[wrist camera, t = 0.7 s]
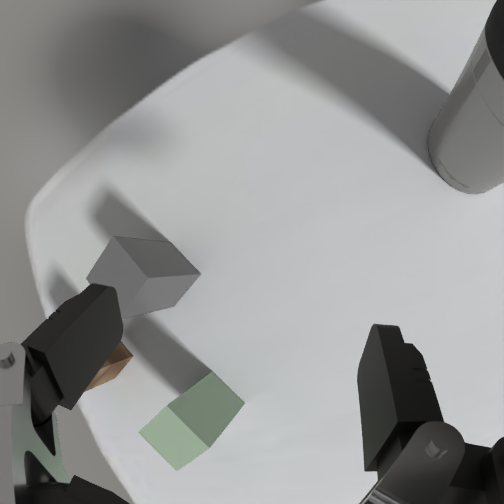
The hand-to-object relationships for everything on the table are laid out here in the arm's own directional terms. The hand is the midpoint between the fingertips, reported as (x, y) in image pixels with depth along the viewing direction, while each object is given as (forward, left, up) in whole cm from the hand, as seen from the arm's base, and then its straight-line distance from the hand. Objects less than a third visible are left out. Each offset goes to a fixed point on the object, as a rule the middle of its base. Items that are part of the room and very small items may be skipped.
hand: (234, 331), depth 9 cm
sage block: (+17, +2, -22) cm, 28 cm away
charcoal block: (+10, -11, -22) cm, 27 cm away
